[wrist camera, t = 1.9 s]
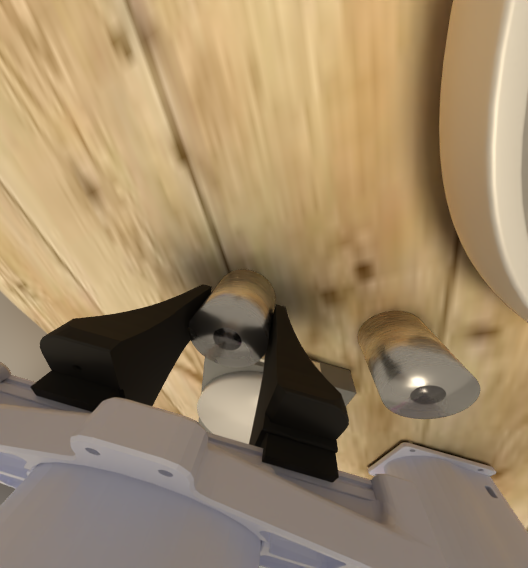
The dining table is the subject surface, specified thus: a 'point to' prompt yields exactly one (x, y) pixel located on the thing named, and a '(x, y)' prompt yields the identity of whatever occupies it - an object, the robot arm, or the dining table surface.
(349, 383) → the kitchen scale
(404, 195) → the dining table surface
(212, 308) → the cylinder
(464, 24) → the bowl
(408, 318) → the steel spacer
